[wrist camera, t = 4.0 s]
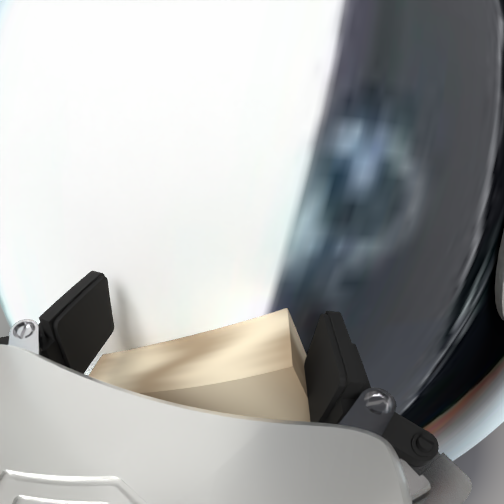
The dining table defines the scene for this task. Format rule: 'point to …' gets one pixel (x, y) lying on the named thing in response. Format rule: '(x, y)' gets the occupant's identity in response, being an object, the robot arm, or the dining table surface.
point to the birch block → (221, 369)
